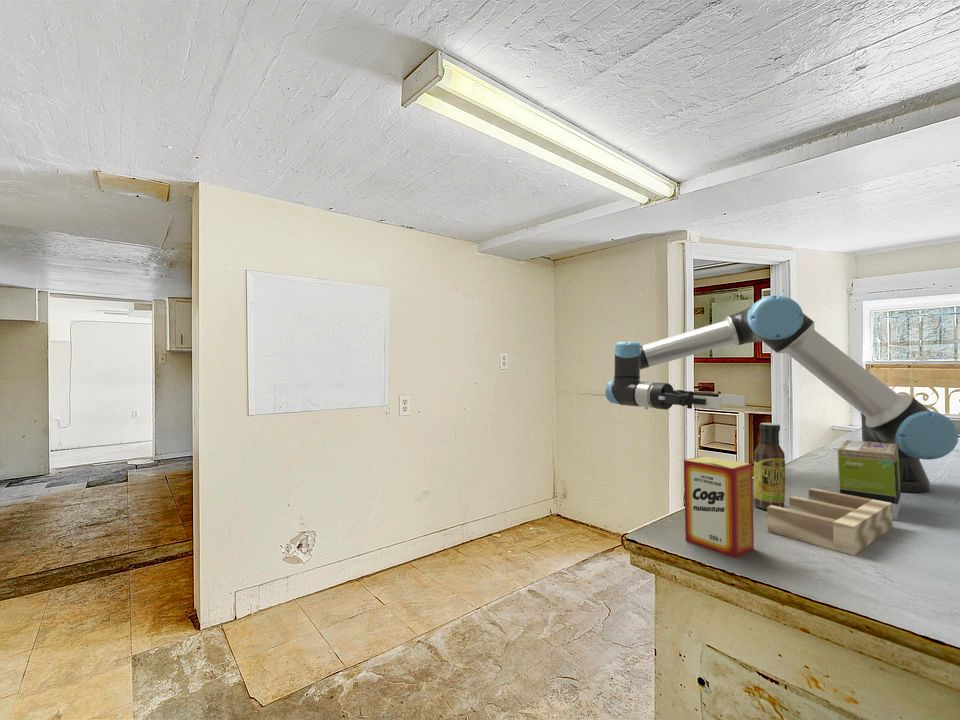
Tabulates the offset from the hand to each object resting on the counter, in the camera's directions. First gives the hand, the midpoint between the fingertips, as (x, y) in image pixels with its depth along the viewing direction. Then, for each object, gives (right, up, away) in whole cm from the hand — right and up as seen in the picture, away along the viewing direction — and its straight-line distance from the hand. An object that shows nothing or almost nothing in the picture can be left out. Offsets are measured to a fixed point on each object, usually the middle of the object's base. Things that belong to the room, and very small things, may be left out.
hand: (733, 402), depth 112 cm
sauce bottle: (+5, -25, -6) cm, 26 cm away
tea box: (+28, -24, -8) cm, 38 cm away
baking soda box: (-18, -25, -27) cm, 41 cm away
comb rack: (+8, -24, -21) cm, 33 cm away
